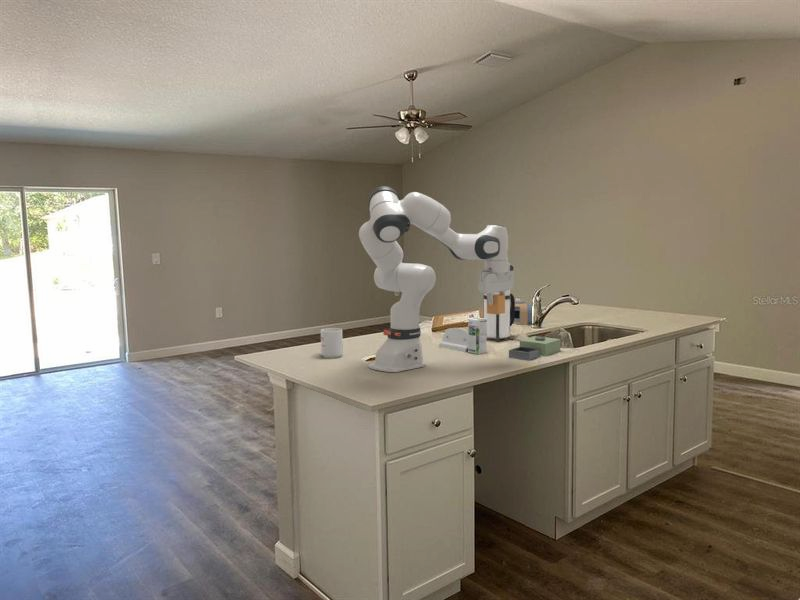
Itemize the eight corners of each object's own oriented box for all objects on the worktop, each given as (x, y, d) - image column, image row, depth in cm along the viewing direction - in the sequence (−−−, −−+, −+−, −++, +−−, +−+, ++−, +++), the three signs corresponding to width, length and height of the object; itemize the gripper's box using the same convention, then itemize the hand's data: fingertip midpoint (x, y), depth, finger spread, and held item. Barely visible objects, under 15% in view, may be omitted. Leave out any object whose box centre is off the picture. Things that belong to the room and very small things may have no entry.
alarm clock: (494, 323, 327) (494, 301, 325) (512, 319, 342) (513, 297, 340) (526, 327, 314) (526, 304, 313) (543, 322, 330) (544, 300, 328)
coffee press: (515, 342, 273) (516, 276, 270) (479, 342, 276) (480, 276, 272) (514, 335, 290) (515, 273, 286) (480, 335, 293) (481, 273, 289)
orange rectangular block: (498, 314, 229) (498, 296, 228) (486, 313, 232) (486, 295, 231) (505, 312, 232) (505, 294, 231) (493, 311, 236) (493, 294, 235)
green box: (545, 356, 245) (546, 341, 244) (519, 352, 253) (519, 338, 252) (560, 350, 255) (560, 336, 254) (534, 347, 262) (534, 333, 262)
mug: (347, 356, 249) (346, 329, 248) (328, 359, 244) (327, 332, 242) (331, 352, 258) (331, 326, 257) (313, 354, 253) (312, 328, 252)
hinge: (437, 346, 267) (443, 324, 268) (445, 348, 270) (450, 327, 271) (465, 352, 254) (471, 329, 255) (472, 354, 257) (478, 331, 258)
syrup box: (467, 352, 254) (467, 318, 252) (477, 350, 258) (477, 316, 256) (477, 354, 250) (477, 319, 248) (487, 352, 253) (487, 318, 252)
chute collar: (529, 360, 237) (529, 353, 237) (508, 357, 243) (508, 350, 243) (540, 356, 244) (540, 349, 244) (520, 353, 250) (520, 346, 250)
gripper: (488, 269, 220) (488, 307, 222) (516, 266, 235) (516, 301, 237) (474, 269, 224) (474, 306, 226) (502, 265, 240) (502, 300, 241)
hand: (496, 303), depth 232 cm, fingers closed on orange rectangular block, 5 cm apart
